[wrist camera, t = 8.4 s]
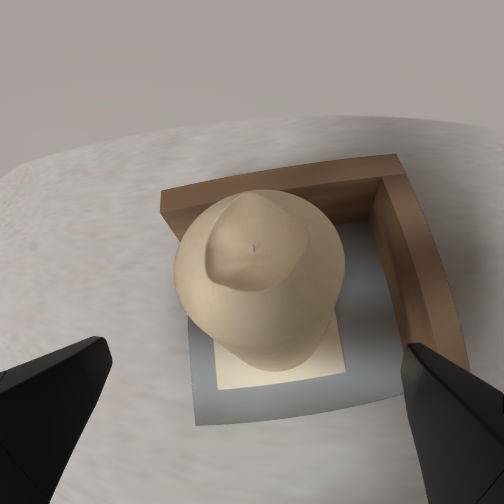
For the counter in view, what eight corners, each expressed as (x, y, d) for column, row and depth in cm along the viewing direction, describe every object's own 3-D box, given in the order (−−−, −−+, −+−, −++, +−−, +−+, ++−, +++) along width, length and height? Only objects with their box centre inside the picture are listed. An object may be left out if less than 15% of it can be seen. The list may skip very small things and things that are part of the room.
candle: (228, 280, 19) (170, 171, 10) (321, 276, 19) (336, 156, 10) (225, 373, 17) (145, 336, 8) (327, 370, 16) (363, 331, 7)
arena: (430, 385, 15) (471, 376, 11) (198, 425, 16) (164, 431, 12) (380, 202, 21) (395, 153, 16) (187, 234, 22) (161, 190, 17)
